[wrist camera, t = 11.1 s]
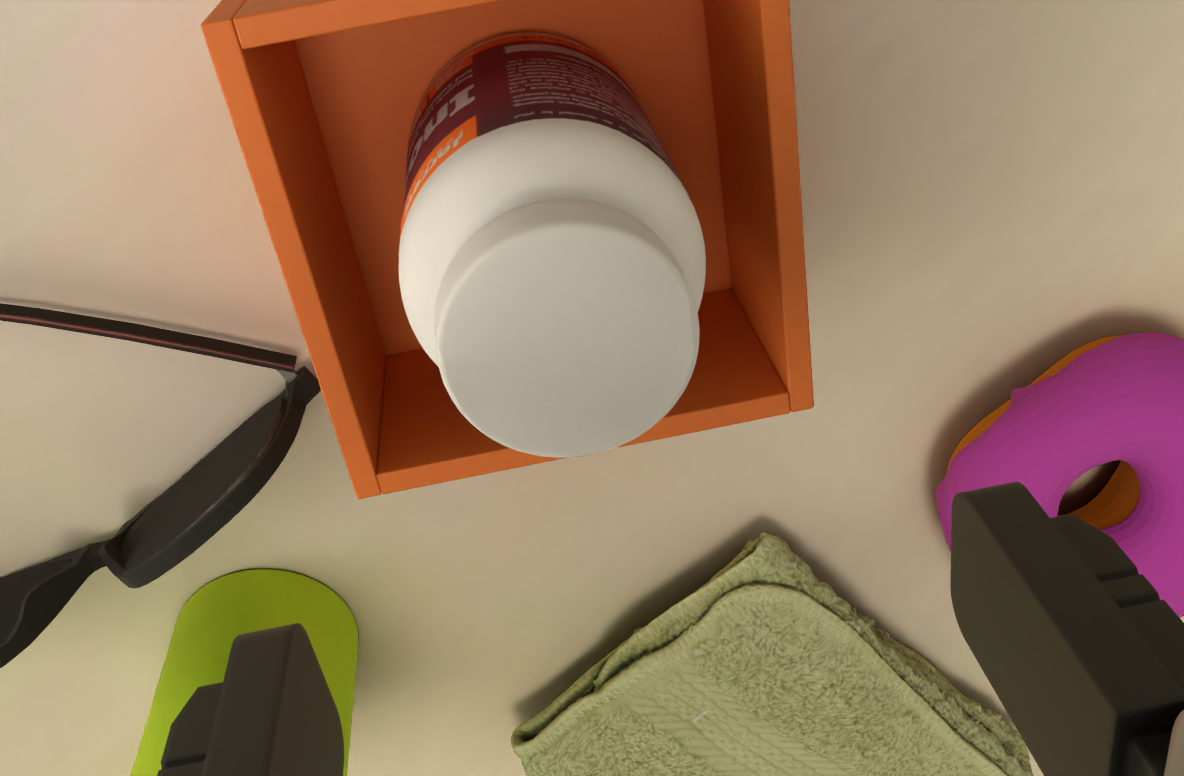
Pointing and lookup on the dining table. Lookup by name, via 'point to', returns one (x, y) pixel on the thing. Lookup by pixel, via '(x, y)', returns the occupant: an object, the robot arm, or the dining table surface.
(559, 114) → the pill bottle
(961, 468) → the donut
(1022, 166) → the dining table surface
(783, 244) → the bin
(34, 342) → the dining table surface
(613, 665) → the washcloth
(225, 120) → the dining table surface
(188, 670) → the soap dispenser
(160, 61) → the dining table surface
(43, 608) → the sunglasses
